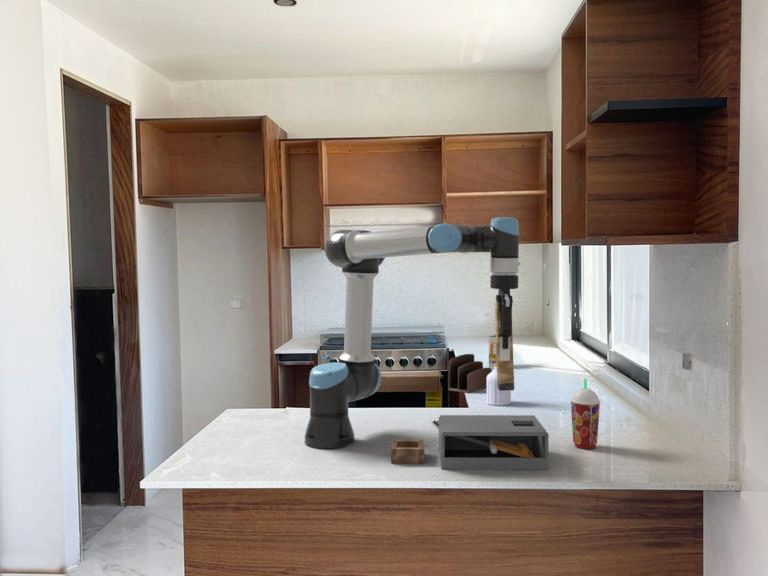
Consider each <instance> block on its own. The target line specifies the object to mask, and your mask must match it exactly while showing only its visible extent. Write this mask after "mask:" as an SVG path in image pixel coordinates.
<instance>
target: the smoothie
mask: <svg viewBox="0 0 768 576" xmlns="http://www.w3.org/2000/svg"><path fill="white" fill-rule="evenodd" d="M587 382H588V381H587V379H586V378H585V379H584V381H583V384H584V385H583V386H584V388H583V387H582V388H580V389H577V390H576V391H575V392H574V393H573V395H572V397H571V398H570V408H571V409H570V410H571V414H570V415H571V428H572V441H573V443H574V446H575V447H576V448H578V449H582V450H593V449H595V448H596V446H597V444H598V438H599V437H598V435H599V421H600V420H599V419H600V409H601V400H600V399H599V397H598V395H597V393H596V392H595V391H594V390H592V389H590V388H588V387H587Z"/></svg>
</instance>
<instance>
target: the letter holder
mask: <svg viewBox="0 0 768 576" xmlns="http://www.w3.org/2000/svg"><path fill="white" fill-rule="evenodd" d="M492 370H493V369H491V368H489V367H484V362H483V361H482V360H481V361H479V360H478V361H477V360H475V354H474V353H464V354H460V355H457V356H455V357H452V358H450V359H449V360H448V388H447V389H448V391H449V392H450V391H451V392H459V393H464V394H470V393H473V392H476V391H479V390H483V389H487V375H488V374H489V373H491V372H493V371H492Z"/></svg>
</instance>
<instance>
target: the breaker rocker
mask: <svg viewBox="0 0 768 576" xmlns="http://www.w3.org/2000/svg"><path fill="white" fill-rule="evenodd" d="M454 437H457V438H460V439H464V440H467V441H471V442H474V443H477V444H481V445H484V446H487V447H489V448H490V450H489V451H490V452H491V454H492V455H496V454H497V453H498V451H501V452H503V453H504V452H505V453H507V454H511V455H515V456H518V457H525V458H536V455H535V453H534V452H533V450H529V449H528V448H527V446H526V445H525V444H521V443H519V444H518V446H515V445H511V444H508V443H505V442H501V441H498V440H495V439H492V437H491V436H485V437H484V436H454Z"/></svg>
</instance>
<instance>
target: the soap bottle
mask: <svg viewBox="0 0 768 576" xmlns="http://www.w3.org/2000/svg"><path fill="white" fill-rule="evenodd" d="M494 343H496V341H494V342H493V343H491V345H490V357H491V358H492V359H495V361H496V364H494V369H493V371H492V372H491V373H489V374H488V375H487V387H486V404H488V405H490V406H497V407H503V406H509V405H510V404H511V402H512V401H511V394H512V392H511V391H512V390H507V391H499V389H498V384H497V356H494V355H493V344H494Z"/></svg>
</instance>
